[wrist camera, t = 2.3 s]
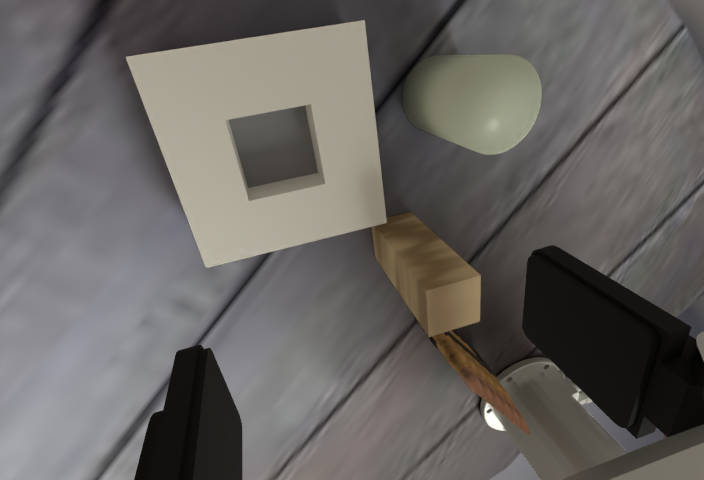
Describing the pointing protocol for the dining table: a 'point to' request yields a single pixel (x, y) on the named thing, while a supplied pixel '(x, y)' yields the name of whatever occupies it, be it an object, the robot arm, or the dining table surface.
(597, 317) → the robot arm
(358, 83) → the socket block
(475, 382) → the ammunition clip
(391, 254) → the square peg
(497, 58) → the pale green rounded piece
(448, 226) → the dining table surface
